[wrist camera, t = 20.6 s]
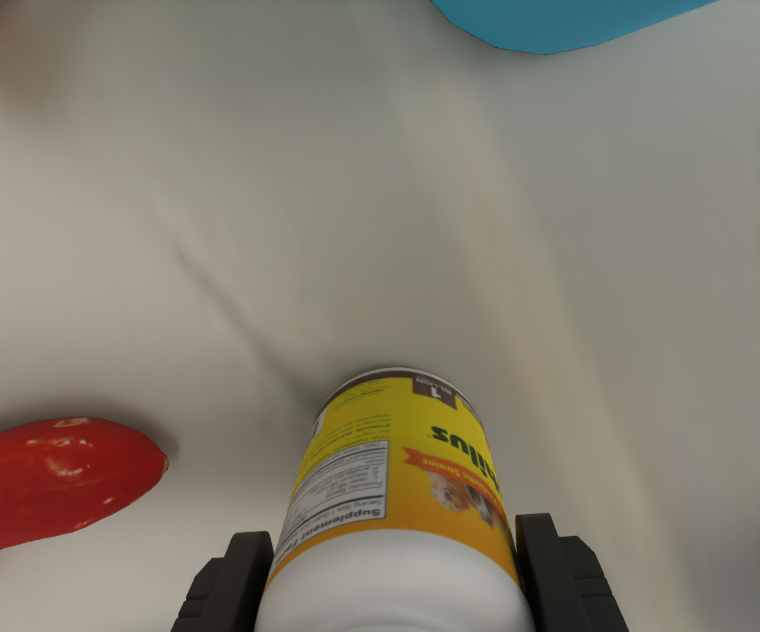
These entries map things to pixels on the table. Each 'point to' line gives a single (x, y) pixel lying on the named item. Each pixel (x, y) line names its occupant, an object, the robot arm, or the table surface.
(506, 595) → the supplement bottle
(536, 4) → the mug
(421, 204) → the table surface
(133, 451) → the vegetable
